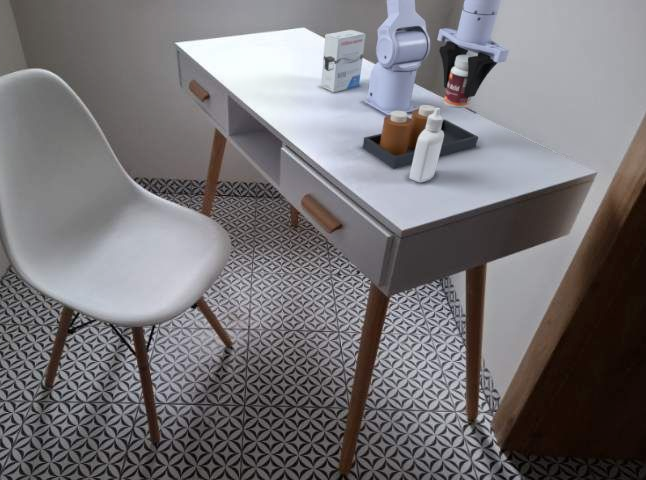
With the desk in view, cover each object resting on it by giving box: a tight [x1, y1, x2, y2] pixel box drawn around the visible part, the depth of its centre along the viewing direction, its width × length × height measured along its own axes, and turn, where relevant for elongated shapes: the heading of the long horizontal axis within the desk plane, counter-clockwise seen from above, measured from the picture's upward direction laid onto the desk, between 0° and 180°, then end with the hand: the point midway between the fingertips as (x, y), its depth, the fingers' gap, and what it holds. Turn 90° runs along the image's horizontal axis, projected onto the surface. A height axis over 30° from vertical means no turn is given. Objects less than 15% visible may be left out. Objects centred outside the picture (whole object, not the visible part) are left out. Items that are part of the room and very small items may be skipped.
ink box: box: [320, 29, 366, 93], centre depth 119 cm, size 8×5×12 cm, turn 128°
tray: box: [362, 118, 479, 169], centre depth 97 cm, size 9×20×2 cm, turn 119°
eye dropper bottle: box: [408, 107, 444, 184], centre depth 85 cm, size 4×6×12 cm
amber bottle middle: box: [408, 104, 436, 149], centre depth 95 cm, size 5×5×7 cm
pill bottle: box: [443, 54, 474, 109], centre depth 94 cm, size 5×5×8 cm
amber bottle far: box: [380, 111, 413, 156], centre depth 93 cm, size 5×5×7 cm
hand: (459, 91), depth 95 cm, fingers closed on pill bottle, 5 cm apart
